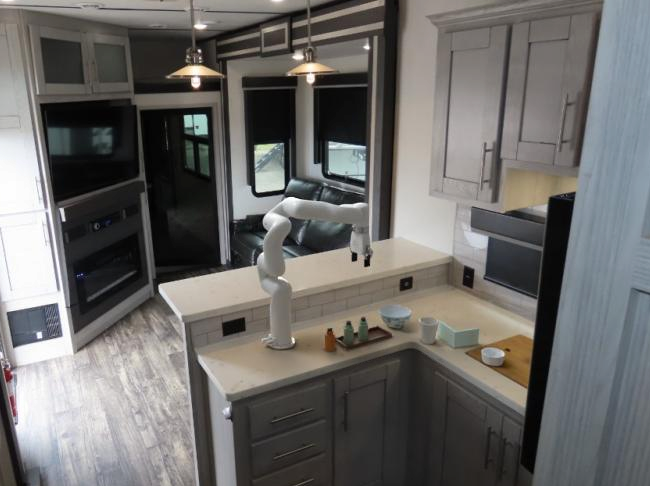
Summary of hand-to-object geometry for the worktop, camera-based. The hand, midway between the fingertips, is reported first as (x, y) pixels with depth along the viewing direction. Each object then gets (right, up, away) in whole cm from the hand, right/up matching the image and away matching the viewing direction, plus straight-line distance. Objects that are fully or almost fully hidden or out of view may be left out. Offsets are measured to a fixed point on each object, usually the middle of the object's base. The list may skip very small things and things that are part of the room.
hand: (360, 263), depth 243 cm
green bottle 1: (-8, -35, -13) cm, 38 cm away
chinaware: (+17, -30, +3) cm, 35 cm away
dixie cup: (+28, -34, -14) cm, 46 cm away
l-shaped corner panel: (+41, -34, -14) cm, 55 cm away
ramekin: (+47, -39, -34) cm, 70 cm away
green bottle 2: (-1, -34, -10) cm, 35 cm away
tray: (-1, -34, -10) cm, 36 cm away
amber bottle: (-17, -37, -17) cm, 44 cm away
